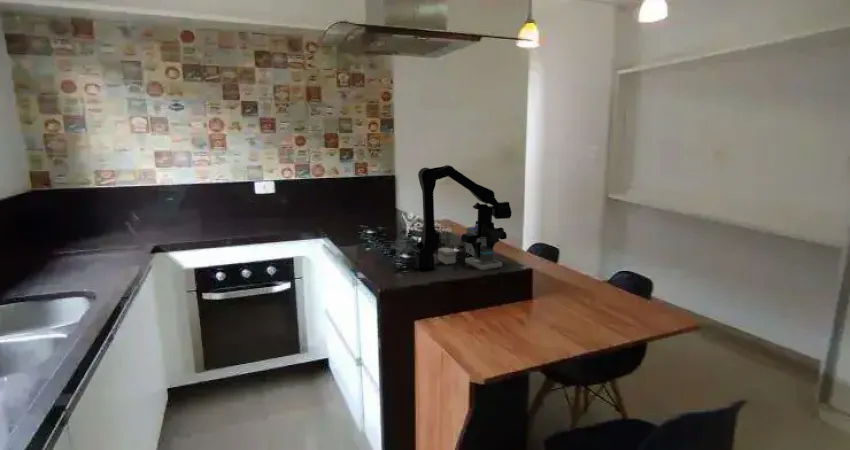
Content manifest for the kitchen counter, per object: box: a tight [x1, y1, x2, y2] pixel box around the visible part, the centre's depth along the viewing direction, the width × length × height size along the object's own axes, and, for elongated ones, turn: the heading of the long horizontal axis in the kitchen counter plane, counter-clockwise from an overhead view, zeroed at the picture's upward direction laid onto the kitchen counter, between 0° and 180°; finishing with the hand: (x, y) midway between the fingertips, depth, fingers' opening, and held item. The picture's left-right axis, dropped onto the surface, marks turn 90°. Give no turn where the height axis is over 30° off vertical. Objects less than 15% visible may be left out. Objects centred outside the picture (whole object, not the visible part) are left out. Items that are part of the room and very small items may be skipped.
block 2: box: [473, 245, 494, 262], centre depth 188 cm, size 5×7×5 cm, turn 27°
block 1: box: [437, 247, 457, 265], centre depth 194 cm, size 5×7×5 cm, turn 25°
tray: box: [464, 256, 503, 271], centre depth 189 cm, size 10×12×2 cm
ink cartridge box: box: [465, 223, 486, 257], centre depth 202 cm, size 10×6×14 cm, turn 66°
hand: (483, 256), depth 189 cm, fingers closed on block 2, 4 cm apart
